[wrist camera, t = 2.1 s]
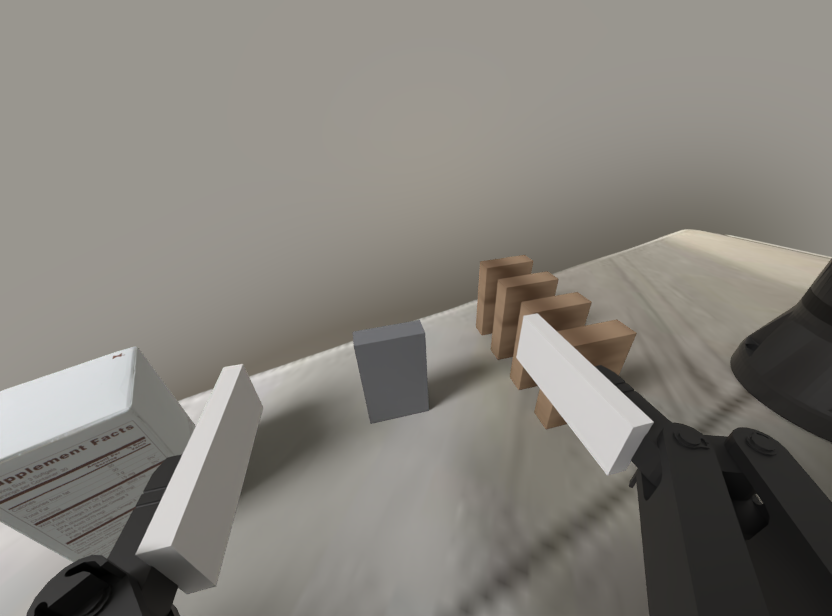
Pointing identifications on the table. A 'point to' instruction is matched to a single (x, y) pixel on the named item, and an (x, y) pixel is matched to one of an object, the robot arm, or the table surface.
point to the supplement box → (85, 450)
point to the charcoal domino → (393, 370)
